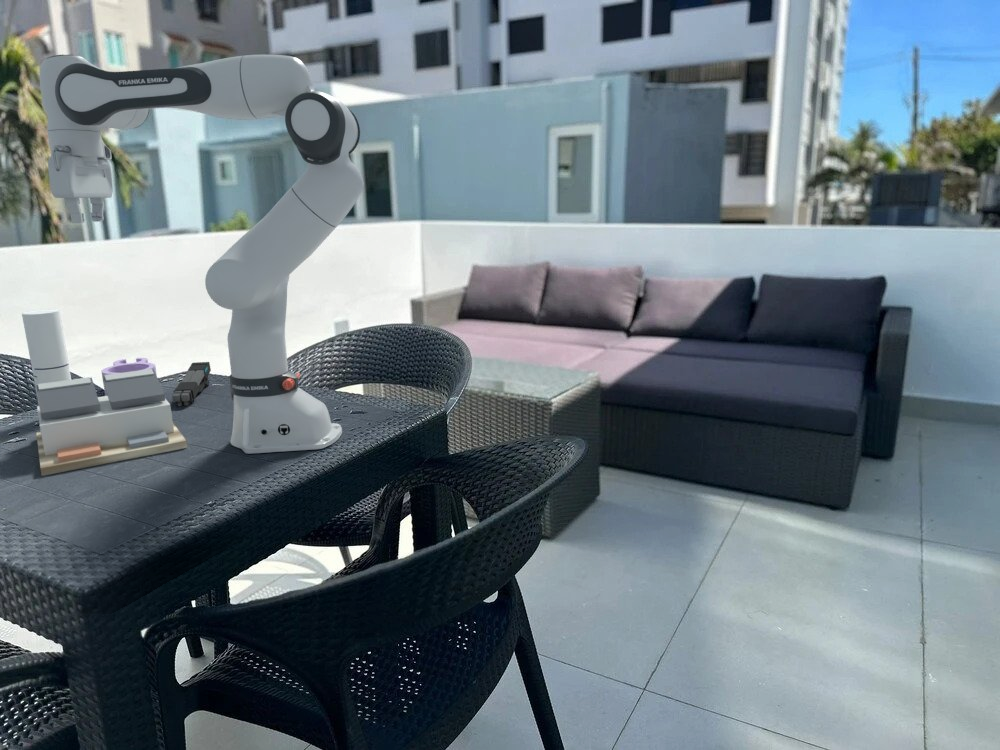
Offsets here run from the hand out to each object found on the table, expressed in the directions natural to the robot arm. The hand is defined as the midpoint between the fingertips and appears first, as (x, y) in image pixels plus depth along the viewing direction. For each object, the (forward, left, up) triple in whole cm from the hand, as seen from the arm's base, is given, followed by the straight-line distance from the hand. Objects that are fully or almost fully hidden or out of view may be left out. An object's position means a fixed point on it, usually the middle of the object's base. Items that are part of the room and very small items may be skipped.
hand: (88, 222), depth 138 cm
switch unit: (+1, +3, -45) cm, 45 cm away
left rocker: (+8, +4, -34) cm, 36 cm away
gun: (0, -33, -45) cm, 56 cm away
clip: (+19, -38, -45) cm, 62 cm away
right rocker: (-2, -3, -34) cm, 35 cm away
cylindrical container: (+23, -14, -45) cm, 52 cm away
